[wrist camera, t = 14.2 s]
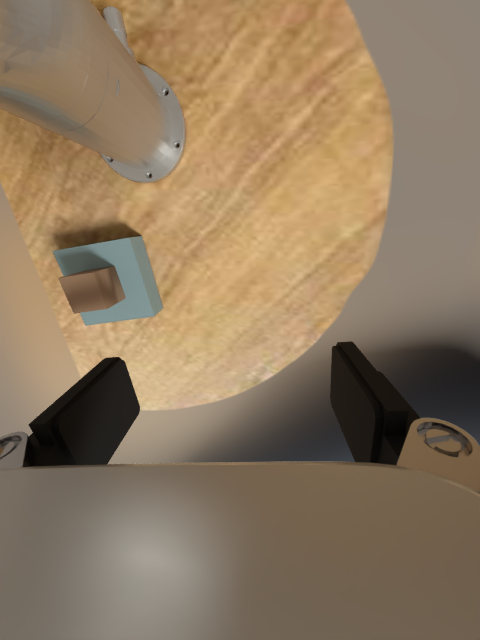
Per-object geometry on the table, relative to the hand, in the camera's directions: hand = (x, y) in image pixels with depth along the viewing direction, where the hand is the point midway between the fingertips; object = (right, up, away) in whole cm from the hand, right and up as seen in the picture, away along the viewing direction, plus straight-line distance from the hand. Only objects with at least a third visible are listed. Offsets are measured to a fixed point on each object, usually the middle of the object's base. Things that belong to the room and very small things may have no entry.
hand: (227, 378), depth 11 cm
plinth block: (-20, +9, +29) cm, 36 cm away
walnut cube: (-20, +8, +25) cm, 33 cm away
